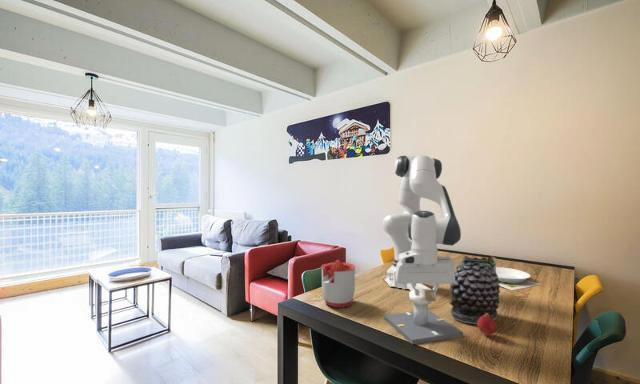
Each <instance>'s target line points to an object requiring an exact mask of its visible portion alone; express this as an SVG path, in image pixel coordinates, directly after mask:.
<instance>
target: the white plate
mask: <svg viewBox="0 0 640 384" xmlns="http://www.w3.org/2000/svg"><path fill="white" fill-rule="evenodd" d="M496 274H497V275H498V276H501V277H503V278H500V277H498V279H499V281H501V282H500V283H503V282H508V283H507V284H520V283H523V282H524V281H525V280H526V281H527V279H529V278H530V277H531V274H530V273H528V272H527V271H523V270H520V269H515V268H509V267H503V266H496Z"/></svg>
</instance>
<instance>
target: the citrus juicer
mask: <svg viewBox="0 0 640 384" xmlns="http://www.w3.org/2000/svg"><path fill="white" fill-rule="evenodd" d="M320 268H321V291H322V295H323V300H324V302H325V304H326V305H327V304H328V305H330V306H329V307H331V306H333V307H332V308H337V307H342V308H346V307H345V306H347V307H349V306H350V304H352V302H353V301H354V295H355V290H356V274H355V273H356V272H355V271H356V266H355V264H352V263H348V262H342V261H341V260H340V259H337V260H335V261H334V262H327V263H324V264H321V266H320ZM328 305H327V306H328Z"/></svg>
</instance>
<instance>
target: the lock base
mask: <svg viewBox="0 0 640 384" xmlns="http://www.w3.org/2000/svg"><path fill="white" fill-rule="evenodd" d="M383 320H385V321H386V322H387V323H388V324H389V326H391V327H392V328H393V329H394V330H396V332H398V333H399V335H401V336H402V337H403V338H405V340H407V341H408V343H410V344H411V345H418V344H423V343H430V342H436V341H442V340H448V339H456V338H460V337H464V331H462V330H461V329H460V328H458V327H457V326H455V325H453V324H451V323H450V322H448V321H447V320H445V319H444V318H442V317H440V316H439V315H437V314H436V313H434V312H432V311H431V310H429V304H428V305H419V304H415V303H413V311H406V312H400V313H389V314H384V315H383Z"/></svg>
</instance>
